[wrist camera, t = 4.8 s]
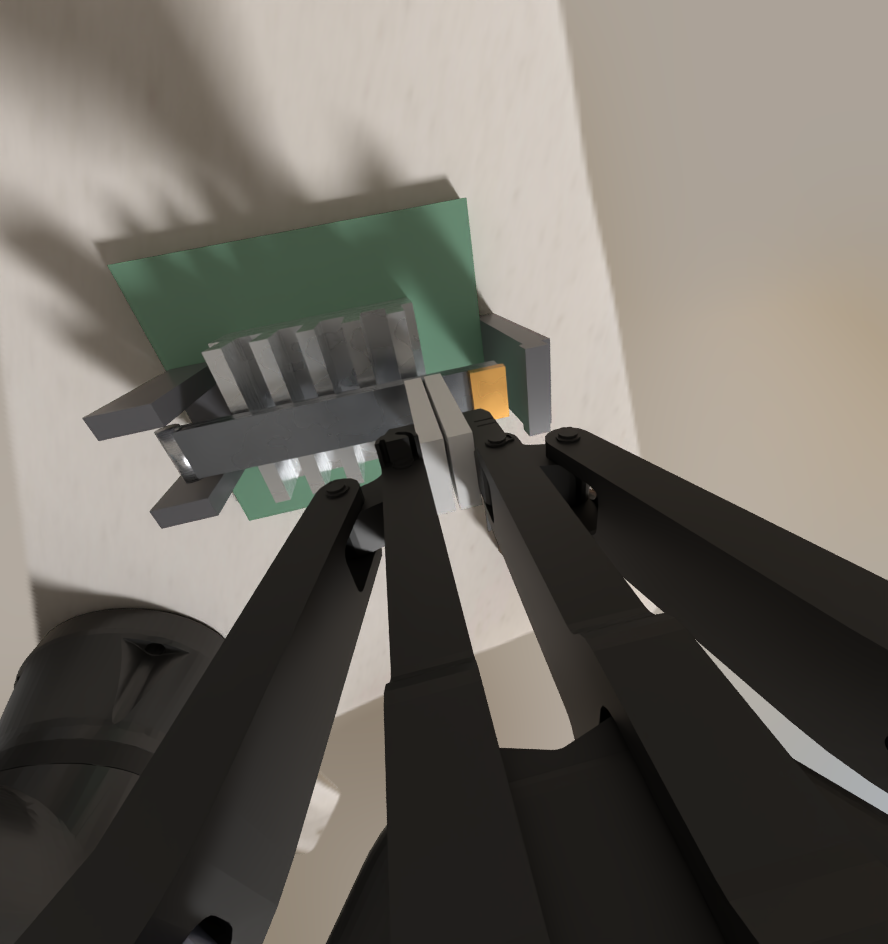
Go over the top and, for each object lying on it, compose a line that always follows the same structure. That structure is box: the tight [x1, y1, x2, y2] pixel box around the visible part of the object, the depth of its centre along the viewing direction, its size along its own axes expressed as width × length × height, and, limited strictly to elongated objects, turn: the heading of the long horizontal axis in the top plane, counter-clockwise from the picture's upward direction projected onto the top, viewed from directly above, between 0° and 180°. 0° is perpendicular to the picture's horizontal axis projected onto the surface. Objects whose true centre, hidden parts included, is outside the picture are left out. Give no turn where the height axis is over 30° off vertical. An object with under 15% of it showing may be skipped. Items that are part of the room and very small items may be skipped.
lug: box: [479, 313, 551, 436], centre depth 20 cm, size 1×4×9 cm, turn 9°
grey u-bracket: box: [82, 362, 245, 528], centre depth 19 cm, size 3×6×7 cm, turn 10°
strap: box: [154, 360, 509, 484], centre depth 17 cm, size 16×3×1 cm, turn 100°
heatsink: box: [201, 297, 426, 503], centre depth 21 cm, size 10×8×5 cm
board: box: [107, 198, 484, 521], centre depth 23 cm, size 18×16×1 cm
